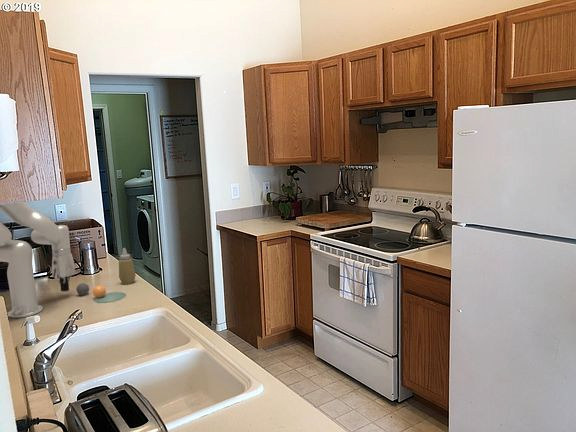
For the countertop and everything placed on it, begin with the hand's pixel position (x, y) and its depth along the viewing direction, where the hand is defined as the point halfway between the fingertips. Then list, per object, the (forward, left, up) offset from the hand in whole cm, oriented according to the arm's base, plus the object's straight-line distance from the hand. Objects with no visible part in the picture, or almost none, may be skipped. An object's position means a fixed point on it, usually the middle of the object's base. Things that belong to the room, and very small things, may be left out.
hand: (65, 290), depth 219 cm
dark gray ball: (+3, -7, -1) cm, 8 cm away
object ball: (-2, -17, -1) cm, 17 cm away
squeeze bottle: (+20, -22, -4) cm, 30 cm away
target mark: (-3, -22, -3) cm, 23 cm away
